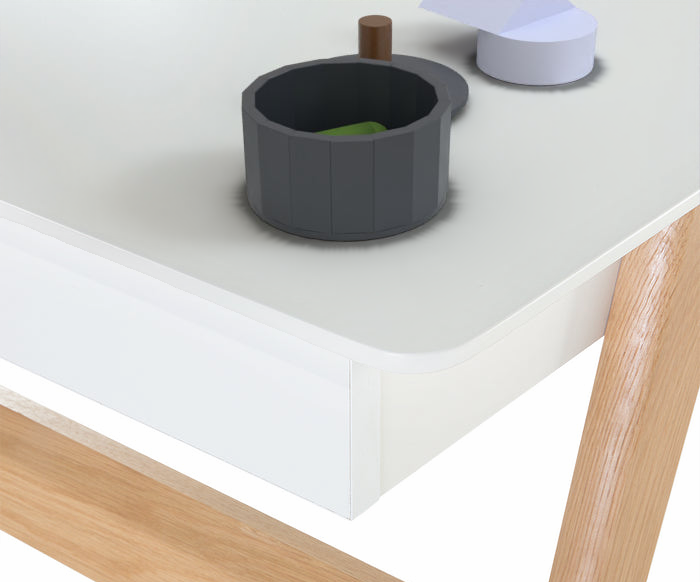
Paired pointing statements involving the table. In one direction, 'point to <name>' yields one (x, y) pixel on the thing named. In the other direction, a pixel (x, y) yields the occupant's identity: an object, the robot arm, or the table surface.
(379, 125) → the pickle
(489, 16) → the wedge on round base
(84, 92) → the table surface
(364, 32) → the lid
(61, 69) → the table surface
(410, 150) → the pot
